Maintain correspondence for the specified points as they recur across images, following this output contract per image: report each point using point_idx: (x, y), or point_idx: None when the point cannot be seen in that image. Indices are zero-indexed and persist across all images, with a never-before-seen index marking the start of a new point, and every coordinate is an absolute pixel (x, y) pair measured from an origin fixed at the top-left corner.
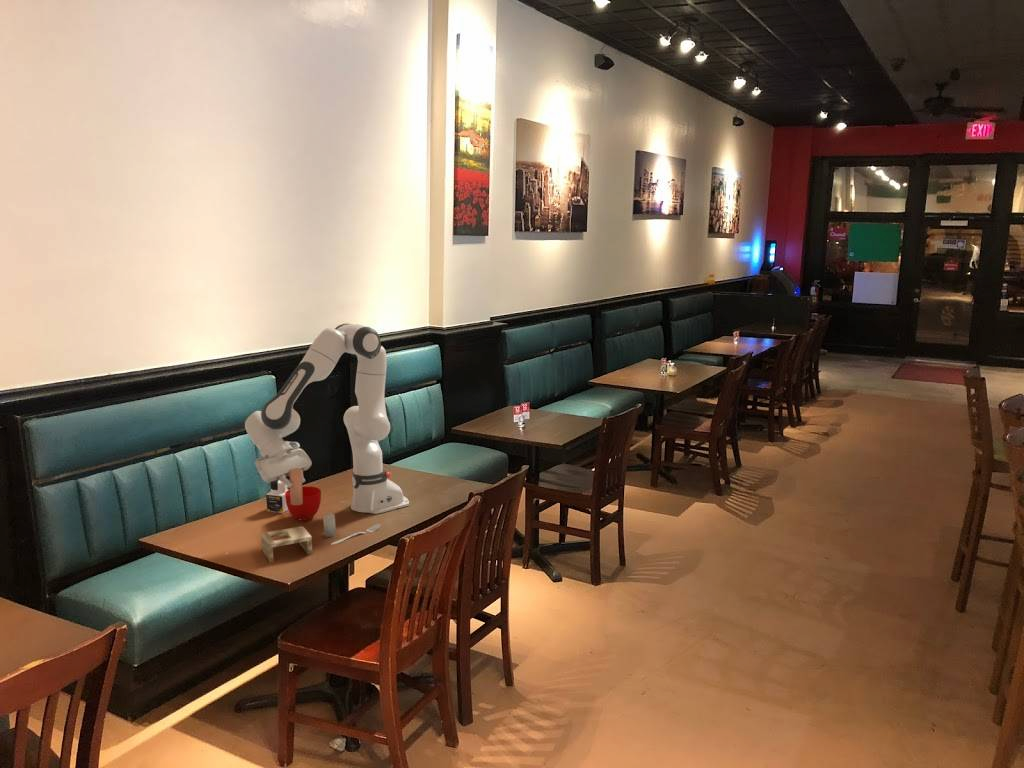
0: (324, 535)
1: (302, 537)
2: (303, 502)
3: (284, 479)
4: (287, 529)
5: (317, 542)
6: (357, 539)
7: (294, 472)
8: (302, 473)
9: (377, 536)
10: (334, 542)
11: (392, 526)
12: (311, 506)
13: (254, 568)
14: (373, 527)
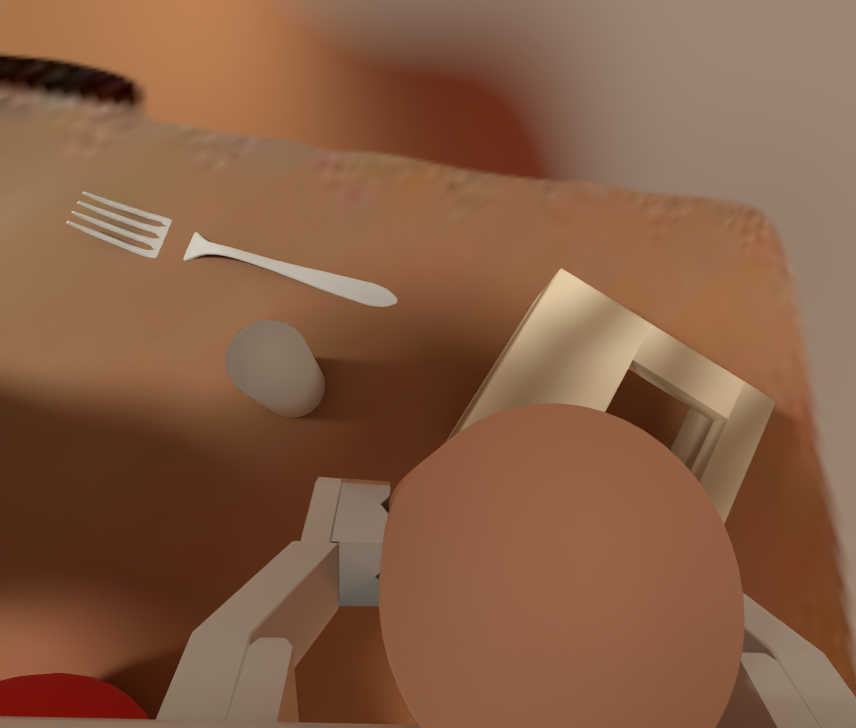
0: (319, 401)
1: (598, 303)
2: None
3: (774, 628)
4: None
5: (410, 375)
6: (286, 226)
7: (680, 481)
8: (252, 593)
9: (211, 166)
10: (372, 298)
11: (52, 171)
12: (76, 687)
13: (789, 427)
14: (117, 231)
